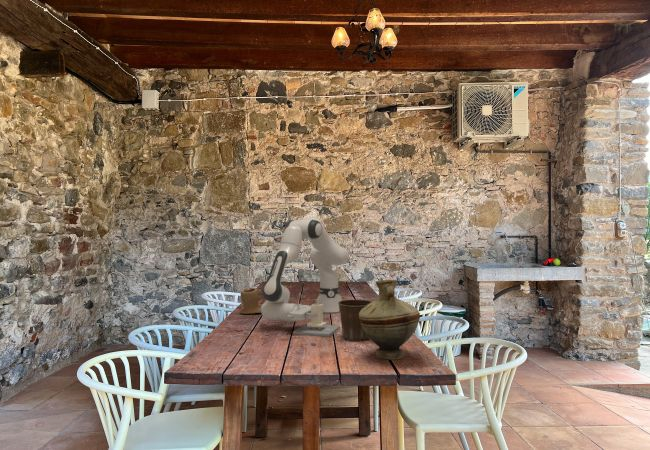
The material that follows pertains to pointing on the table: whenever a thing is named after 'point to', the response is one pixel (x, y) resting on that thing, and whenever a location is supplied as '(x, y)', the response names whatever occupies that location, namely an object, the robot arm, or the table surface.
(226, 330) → the table surface
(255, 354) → the table surface
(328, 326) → the post plate
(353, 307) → the plant pot
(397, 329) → the brown ceramic vase
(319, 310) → the collar
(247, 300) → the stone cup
